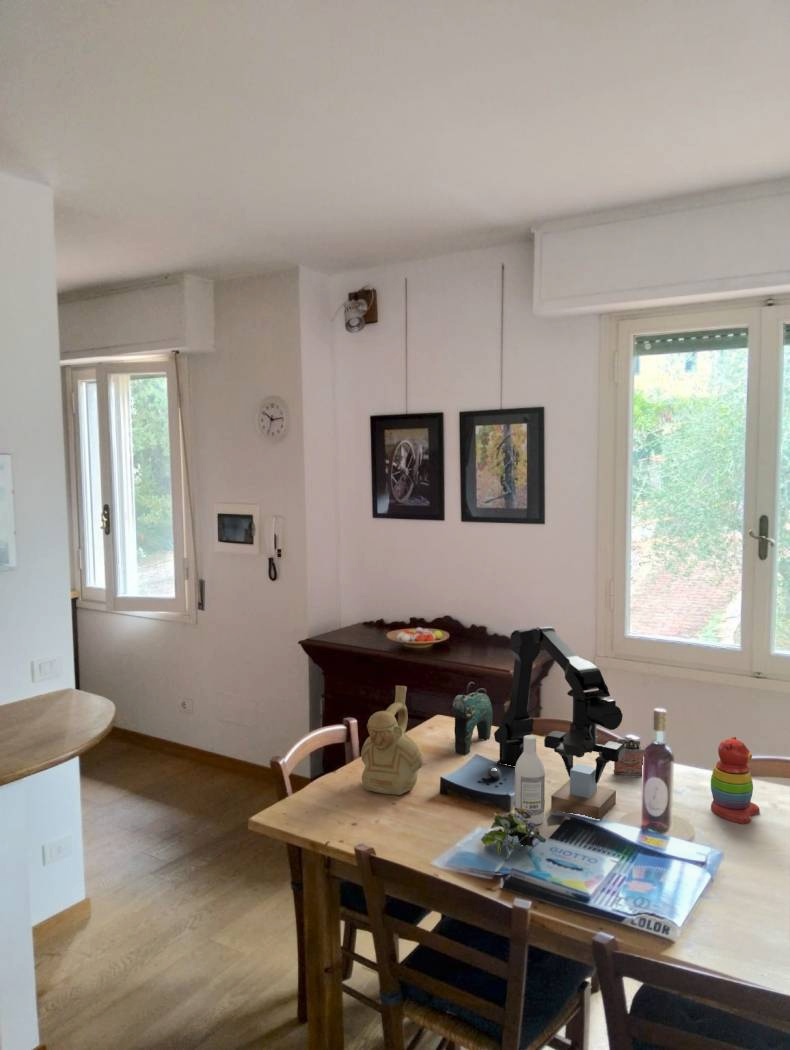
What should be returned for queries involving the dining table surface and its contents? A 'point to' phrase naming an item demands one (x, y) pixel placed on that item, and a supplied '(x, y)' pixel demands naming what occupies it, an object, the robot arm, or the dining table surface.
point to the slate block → (583, 781)
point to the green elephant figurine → (471, 719)
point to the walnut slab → (584, 802)
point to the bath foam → (530, 782)
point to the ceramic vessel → (390, 751)
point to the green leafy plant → (512, 831)
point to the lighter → (630, 759)
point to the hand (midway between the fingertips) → (583, 779)
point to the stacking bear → (733, 783)
